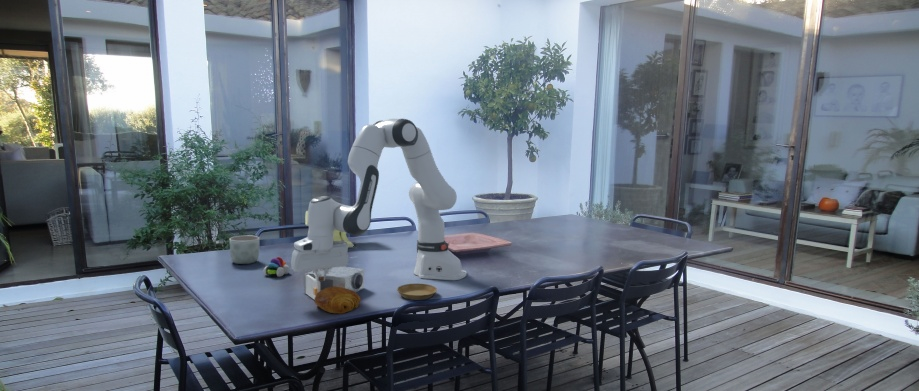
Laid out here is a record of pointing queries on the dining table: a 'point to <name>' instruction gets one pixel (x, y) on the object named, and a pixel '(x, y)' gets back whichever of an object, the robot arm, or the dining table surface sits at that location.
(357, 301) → the croissant
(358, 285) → the camera housing
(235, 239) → the planter
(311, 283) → the panel
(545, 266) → the dining table surface
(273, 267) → the rainbow toy
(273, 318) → the dining table surface
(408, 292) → the plant saucer
